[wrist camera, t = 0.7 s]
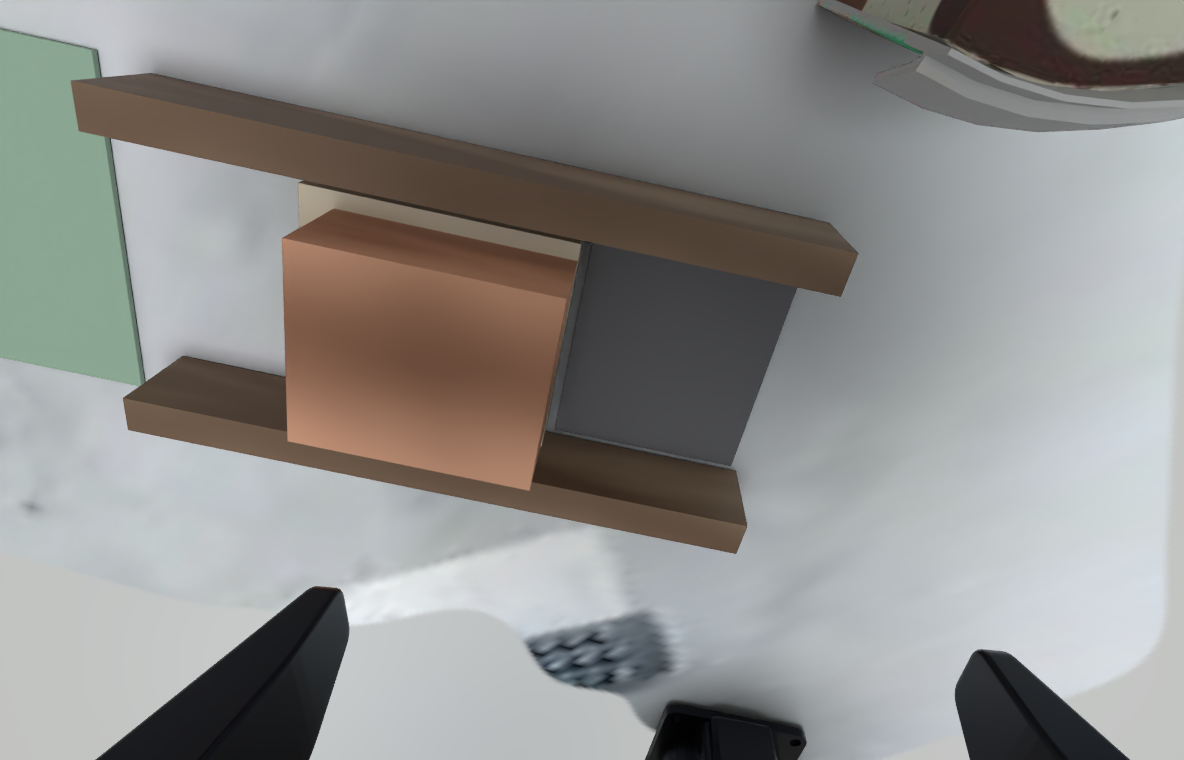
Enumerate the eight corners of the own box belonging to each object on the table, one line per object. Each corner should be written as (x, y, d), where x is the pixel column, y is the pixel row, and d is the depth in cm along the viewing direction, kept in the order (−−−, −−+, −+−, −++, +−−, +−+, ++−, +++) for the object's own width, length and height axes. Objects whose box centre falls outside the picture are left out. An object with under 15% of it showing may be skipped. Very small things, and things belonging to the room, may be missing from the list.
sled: (546, 427, 23) (526, 504, 19) (317, 379, 23) (253, 448, 19) (584, 232, 20) (569, 280, 16) (317, 174, 19) (239, 209, 16)
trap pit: (730, 462, 24) (730, 466, 23) (555, 426, 23) (554, 429, 23) (801, 268, 20) (803, 270, 20) (596, 224, 20) (596, 225, 20)
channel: (726, 496, 24) (736, 553, 22) (185, 385, 24) (128, 430, 21) (829, 223, 19) (858, 253, 17) (151, 73, 19) (70, 80, 16)
